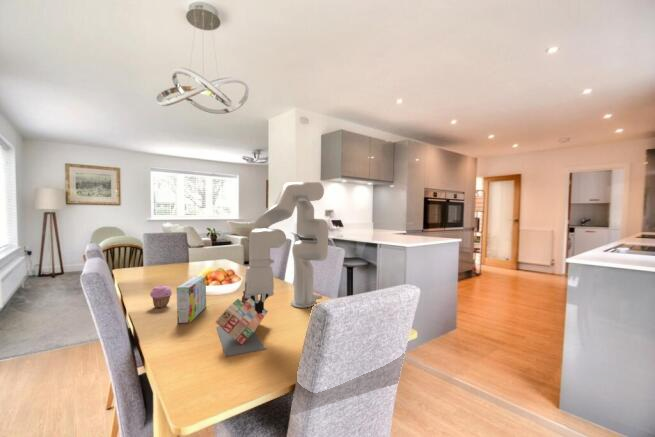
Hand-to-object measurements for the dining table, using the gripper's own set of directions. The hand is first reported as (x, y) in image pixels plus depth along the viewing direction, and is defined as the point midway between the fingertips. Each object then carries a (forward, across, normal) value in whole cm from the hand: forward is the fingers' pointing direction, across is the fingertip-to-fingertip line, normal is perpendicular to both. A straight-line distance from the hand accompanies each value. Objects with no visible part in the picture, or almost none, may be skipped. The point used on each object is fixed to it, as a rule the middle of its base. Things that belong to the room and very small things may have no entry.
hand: (259, 312), depth 112 cm
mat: (+8, +7, 0) cm, 11 cm away
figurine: (+8, 0, -20) cm, 22 cm away
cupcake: (+8, +34, -51) cm, 62 cm away
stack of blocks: (+6, +1, 0) cm, 6 cm away
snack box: (+8, +21, -33) cm, 40 cm away
